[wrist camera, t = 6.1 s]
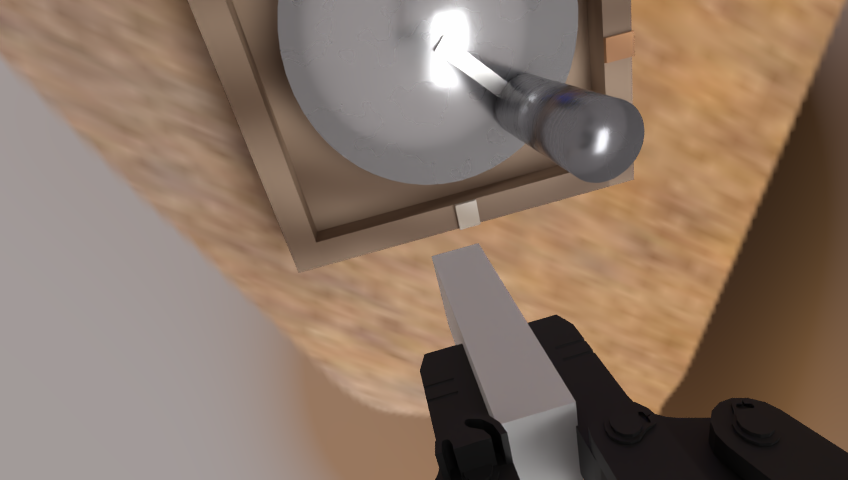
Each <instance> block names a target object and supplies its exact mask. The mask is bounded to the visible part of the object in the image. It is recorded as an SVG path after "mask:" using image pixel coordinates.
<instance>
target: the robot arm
mask: <svg viewBox="0 0 848 480" xmlns="http://www.w3.org/2000/svg"><path fill="white" fill-rule="evenodd" d="M432 260H433V264H434V268H435V272H436V276H437V280H438V284H439V288H440V292H441V296H442V300H443V304H444V308H445V312H446V316H447V320H448V324H449V327H450V330H451V333H452V336H453V339H454V341H455V344H456V345H455V346H451V347H448V348H445V349H441V350H438V351H434V352H431V353H427V354H425V355H424V358H423V362H422V365H421V369H420V373H421V377H422V382H423V386H424V390H425V395H426V399H427V403H428V408H429V412H430V416H431V421H432V425H433V429H434V433H435V438H436V441H435V456H436V459H437V462H438V465H439V472H438V475H437V477H436V479H435V480H583V479H584V480H848V453H847V452H846V451H844V450H843V449H841V448H839V447H838V446H836V445H835V444H833V443H832V442H830V441H828V440H827V439H825V438H824V437H822V436H821V435H819V434H818V433H816V432H814V431H813V430H811V429H810V428H808V427H807V426H805V425H803V424H802V423H800V422H799V421H797V420H796V419H794V418H792V417H791V416H790V415H788V414H786V413H785V412H783V411H782V410H780V409H778V408H776V407H774V406H772V405H770V404H768V403H766V402H762V401H758V400H754V399H749V398H731V399H728V400H725V401H723V402H720V403H719V404H718V405H717V406H716V407H715V408H714V409H713V410H712V414H711V418H672V417H664V416H660V415H657V414H654V413H653V412H652V411H651V410H650V409H649V408H647V407H644V406H642V405H640V404H638V403H636V402H633V401H632V400H631V399H630V398H629V397H628V396H627V395H626V393H625V392H624V391H623V389H622V388H621V387H620V385H619V384H618V383H617V382H616V380H615V379H614V378H613V376H612V375H611V374H610V372H609V371H608V370H607V368H606V367H605V366H604V364H603V363H602V362H601V360H600V359H599V358H598V356H597V355H596V354H595V353H593V350H592V349H591V347H590V346H589V345H588V343H587V342H586V341H584V338H583V337H582V335H581V334H580V333H579V331H578V330H577V329H576V328H575V326H574V325H573V324H572V323H570V322H568V321H566V320H565V319H563V318H561V317H560V316H558V315H553V316H550V317H546V318H543V319H540V320H536V321H533V322H529V323H527V322H526V320H525V318H524V317H523V315H522V313H521V312H520V310H519V309H518V307H517V305H516V304H515V302H514V300H513V299H512V297H511V295H510V294H509V292H508V291H507V289H506V287H505V286H504V284H503V282H502V281H501V279H500V278H499V276H498V274H497V273H496V271H495V269H494V268H493V266H492V265H491V263H490V261H489V260H488V258H487V256H486V255H485V253H484V252H483V250H482V248H481V247H480V245H479V243H478V244H474V245H471V246H467V247H463V248H460V249H456V250H453V251H449V252H446V253H442V254H439V255H435V256H432Z"/></svg>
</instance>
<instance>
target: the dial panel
mask: <svg viewBox="0 0 848 480" xmlns="http://www.w3.org/2000/svg"><path fill="white" fill-rule="evenodd" d="M577 1H578V31H577V39H576V47H575V52H574V56H573V60H572V65H571V69H570V72H569V74H568V77H567V80H566V83H565V84H569V85H572V86H576V87H580V88H583V89H587V90H591V91H594V92H598V93H602V94H605V95H609V96H613V97H616V98H620V99H623V100H626V101H628V102H630V103H631V104H632V105H633V98H632V56H634V31H631V0H577ZM188 3H189V5H190V8H191V10H192V12H193V15H194V17H195V20H196V22H197V25H198V27H199V30H200V32H201V35H202V37H203V39H204V42H205V44H206V47H207V49H208V52H209V54H210V57H211V59H212V61H213V64H214V66H215V69H216V71H217V74H218V76H219V79H220V81H221V83H222V86H223V88H224V91H225V93H226V96H227V98H228V101H229V103H230V106H231V108H232V110H233V113H234V115H235V118H236V120H237V123H238V125H239V128H240V130H241V132H242V135H243V137H244V140H245V142H246V145H247V147H248V150H249V152H250V154H251V157H252V159H253V162H254V164H255V167H256V169H257V172H258V174H259V177H260V179H261V181H262V184H263V186H264V189H265V191H266V194H267V196H268V199H269V201H270V203H271V206H272V208H273V211H274V213H275V216H276V218H277V221H278V223H279V226H280V228H281V230H282V233H283V235H284V238H285V240H286V243H287V245H288V248H289V250H290V252H291V255H292V257H293V260H294V262H295V265H296V267H297V270H298V272H299V273H300V272H304V271H307V270H311V269H315V268H318V267H322V266H325V265H329V264H333V263H336V262H340V261H343V260H347V259H350V258H354V257H358V256H361V255H365V254H368V253H372V252H376V251H379V250H383V249H386V248H390V247H394V246H397V245H401V244H404V243H408V242H411V241H415V240H419V239H422V238H426V237H429V236H433V235H437V234H440V233H444V232H447V231H451V230H455V229H458V228H460V230H462V229H465V228H469V227H472V226H476V225H479V224H480V222H483V221H487V220H490V219H494V218H498V217H501V216H505V215H508V214H512V213H516V212H519V211H523V210H526V209H530V208H533V207H537V206H541V205H544V204H548V203H551V202H555V201H559V200H562V199H566V198H569V197H573V196H577V195H580V194H584V193H587V192H591V191H594V190H598V189H602V188H605V187H609V186H612V185H616V184H620V183H623V182H627V181H630V180H634V162H633V163H632V164H631V166H630V167H629V168H628V169H627V170H626V171H624V172H623V173H622V174H620V175H619V176H617V177H616V178H614V179H611V180H609V181H606V182H601V183H590V182H585V181H583V180H581V179H579V178H577V177H576V176H574V175H573V174H571V173H569V172H568V171H566V170H565V169H563V168H562V167H560V166H559V165H557V164H556V163H554V162H553V161H551V160H550V159H548V158H547V157H545V156H544V155H542V154H541V153H539V152H537V151H536V150H534V149H533V148H531V147H530V146H528V145H527V144H524V145H523V146H522V147H521V148H520V149H519V150H518V151H516V152H515V153H514V154H513V155H511V156H510V157H509V158H507V159H506V160H505V161H503V162H501V163H500V164H498V165H496V166H495V167H493V168H491V169H489V170H487V171H485V172H483V173H480V174H478V175H476V176H473V177H470V178H467V179H464V180H460V181H456V182H450V183H445V184H432V185H420V184H407V183H403V182H398V181H393V180H389V179H386V178H383V177H380V176H377V175H374V174H372V173H370V172H368V171H366V170H364V169H362V168H360V167H358V166H357V165H355V164H354V163H352V162H351V161H349V160H348V159H346V158H345V157H343V156H342V155H341V154H339V153H338V152H337V151H336V150H335V149H334V148H333V147H331V146H330V145H329V144H328V143H327V142H326V141H325V140H324V139H323V137H322V136H321V135H320V134H319V133H318V132H317V131H316V130H315V128H314V127H313V126H312V124H311V123H310V121H309V120H308V118H307V117H306V116H305V114H304V113H303V111H302V109H301V107H300V105H299V103H298V102H297V100H296V98H295V96H294V94H293V91H292V89H291V86H290V84H289V81H288V78H287V76H286V73H285V69H284V65H283V61H282V57H281V53H280V45H279V37H278V0H188Z"/></svg>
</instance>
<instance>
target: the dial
mask: <svg viewBox="0 0 848 480" xmlns="http://www.w3.org/2000/svg"><path fill="white" fill-rule="evenodd" d="M577 31H578V1H577V0H278V37H279V45H280V53H281V57H282V61H283V65H284V69H285V73H286V76H287V78H288V81H289V84H290V86H291V89H292V91H293V94H294V96H295V98H296V100H297V102H298V103H299V105H300V107H301V109H302V111H303V113H304V114H305V116H306V117H307V118H308V120H309V121H310V123H311V124H312V126H313V127H314V128H315V130H316V131H317V132H318V133H319V134H320V135H321V136H322V137H323V139H324V140H325V141H326V142H327V143H328V144H329V145H330V146H331V147H333V148H334V149H335V150H336V151H337V152H338V153H339V154H341V155H342V156H343V157H345V158H346V159H348V160H349V161H351V162H352V163H354V164H355V165H357V166H358V167H360V168H362V169H364V170H366V171H368V172H370V173H372V174H374V175H377V176H380V177H383V178H386V179H389V180H393V181H398V182H403V183H407V184H420V185H432V184H445V183H450V182H456V181H460V180H464V179H467V178H470V177H473V176H476V175H478V174H480V173H483V172H485V171H487V170H489V169H491V168H493V167H495V166H496V165H498V164H500V163H501V162H503V161H505V160H506V159H507V158H509V157H510V156H511V155H513V154H514V153H515V152H516V151H518V150H519V149H520V148H521V147H522V146H523V145H524V144H527V145H528V146H530V147H531V148H533V149H534V150H536V151H537V152H539V153H541V154H542V155H544V156H545V157H547V158H548V159H550V160H551V161H553V162H554V163H556V164H557V165H559V166H560V167H562V168H563V169H565V170H566V171H568V172H569V173H571V174H573V175H574V176H576V177H577V178H579V179H581V180H583V181H585V182H590V183H601V182H606V181H609V180H611V179H614V178H616V177H617V176H619V175H620V174H622V173H623V172H624V171H626V170H627V169H628V168H629V167H630V166H631V164H632V163H633V162H634V160H635V159H636V157H637V156H638V154H639V152H640V150H641V147H642V144H643V139H644V124H643V120H642V117H641V115H640V113H639V111H638V110H637V108H636V107H635V106H634V105H632V104H631V103H630V102H628V101H626V100H623V99H620V98H616V97H613V96H609V95H605V94H602V93H598V92H594V91H591V90H587V89H583V88H580V87H576V86H572V85H569V84H565V83H566V80H567V77H568V74H569V72H570V69H571V65H572V60H573V56H574V52H575V47H576V39H577Z"/></svg>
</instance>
